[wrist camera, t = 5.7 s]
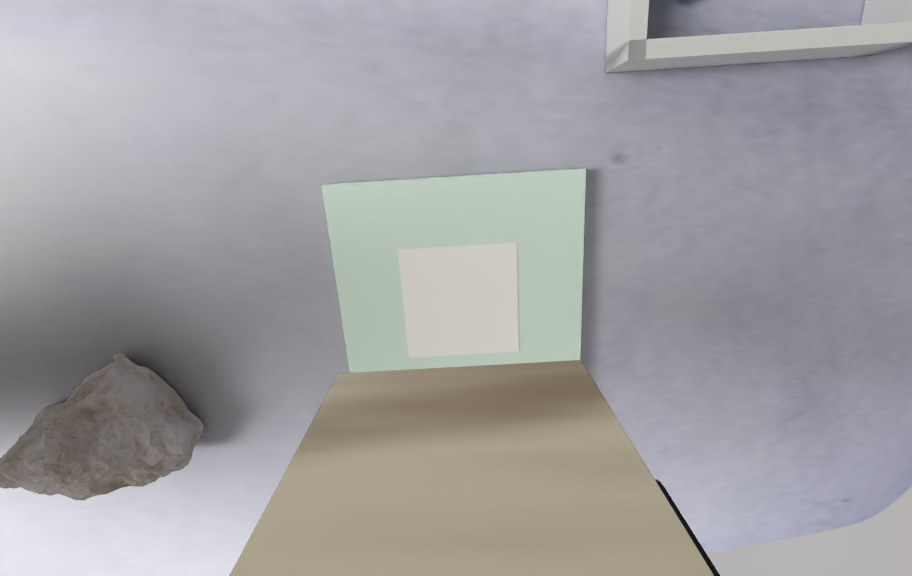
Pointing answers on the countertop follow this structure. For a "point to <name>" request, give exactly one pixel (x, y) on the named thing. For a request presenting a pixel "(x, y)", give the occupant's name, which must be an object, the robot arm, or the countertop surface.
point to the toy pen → (751, 40)
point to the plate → (459, 268)
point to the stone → (105, 436)
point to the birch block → (468, 482)
